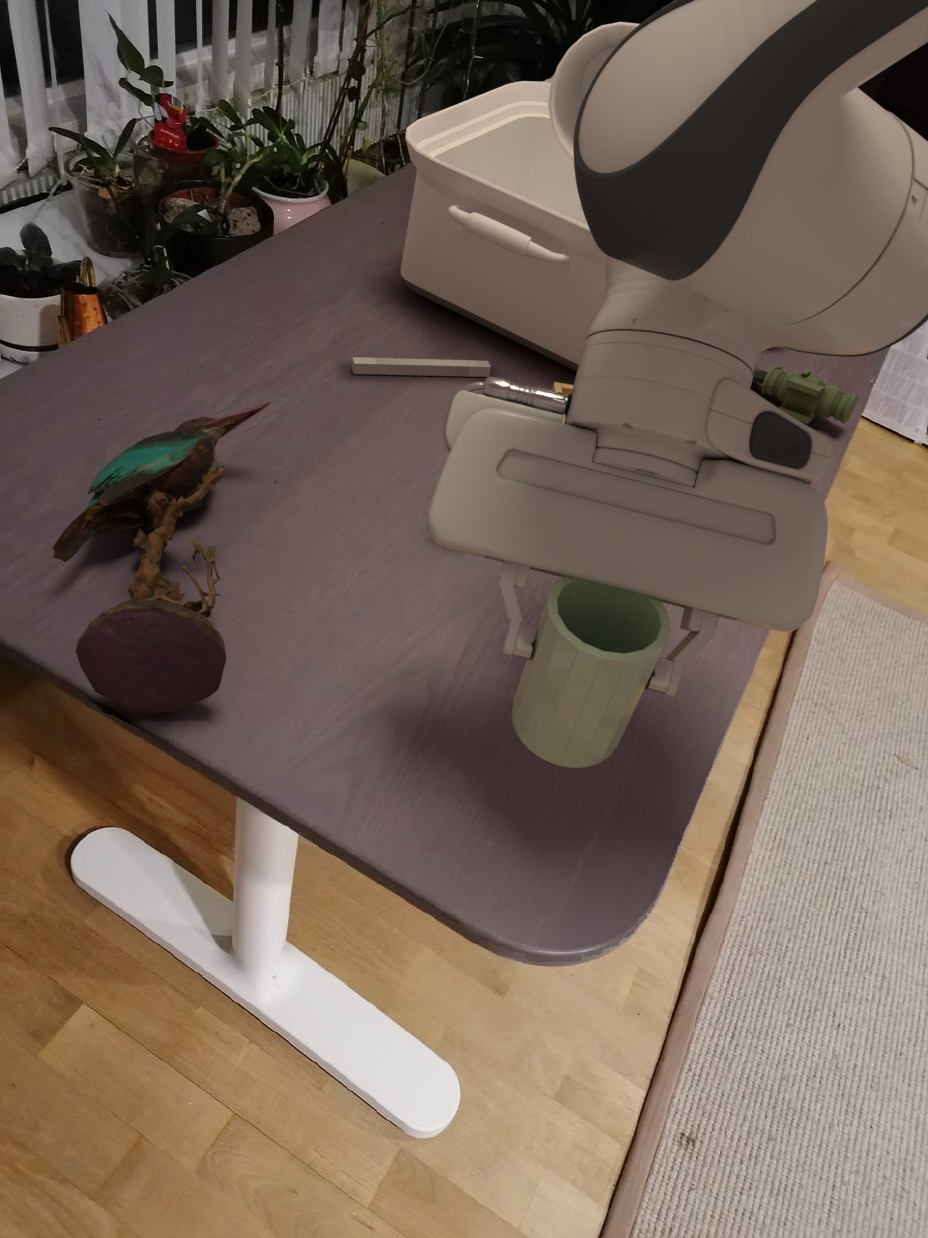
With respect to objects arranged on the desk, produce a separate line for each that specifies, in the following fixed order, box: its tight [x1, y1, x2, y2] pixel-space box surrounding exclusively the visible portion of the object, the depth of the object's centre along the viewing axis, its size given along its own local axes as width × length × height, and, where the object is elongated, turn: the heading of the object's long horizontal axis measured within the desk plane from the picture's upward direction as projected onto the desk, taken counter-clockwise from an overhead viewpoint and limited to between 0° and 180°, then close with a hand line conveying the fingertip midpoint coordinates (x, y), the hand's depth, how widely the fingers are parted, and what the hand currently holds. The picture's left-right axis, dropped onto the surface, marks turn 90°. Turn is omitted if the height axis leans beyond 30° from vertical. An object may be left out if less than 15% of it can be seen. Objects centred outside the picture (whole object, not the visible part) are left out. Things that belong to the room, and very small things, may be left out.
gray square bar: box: [350, 356, 492, 378], centre depth 89 cm, size 12×1×1 cm, turn 103°
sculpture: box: [51, 402, 271, 715], centre depth 65 cm, size 8×14×25 cm
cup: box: [548, 21, 641, 161], centre depth 90 cm, size 12×12×12 cm
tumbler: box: [511, 576, 672, 769], centre depth 52 cm, size 6×6×9 cm
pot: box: [400, 80, 607, 372], centre depth 97 cm, size 34×29×15 cm
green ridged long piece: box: [752, 365, 859, 425], centre depth 96 cm, size 4×18×5 cm
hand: (587, 674), depth 52 cm, fingers closed on tumbler, 6 cm apart
